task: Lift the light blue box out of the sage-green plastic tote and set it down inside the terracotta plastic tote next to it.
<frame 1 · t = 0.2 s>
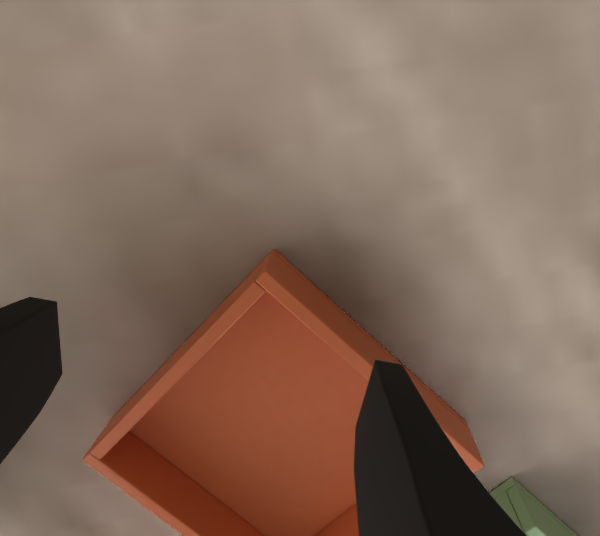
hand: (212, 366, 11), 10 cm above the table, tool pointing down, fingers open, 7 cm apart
terracotta tote: (283, 420, 24), on the table
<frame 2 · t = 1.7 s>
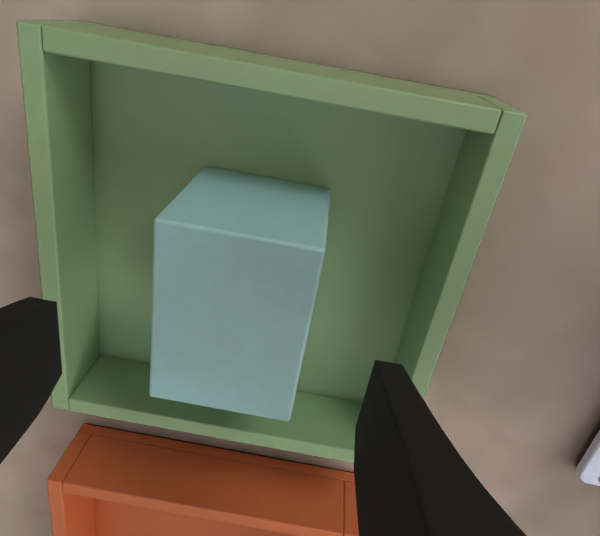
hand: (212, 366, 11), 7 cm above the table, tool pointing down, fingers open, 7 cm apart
light blue box: (257, 253, 16), resting on sage tote
sage tote: (259, 247, 17), on the table
terracotta tote: (209, 535, 24), on the table
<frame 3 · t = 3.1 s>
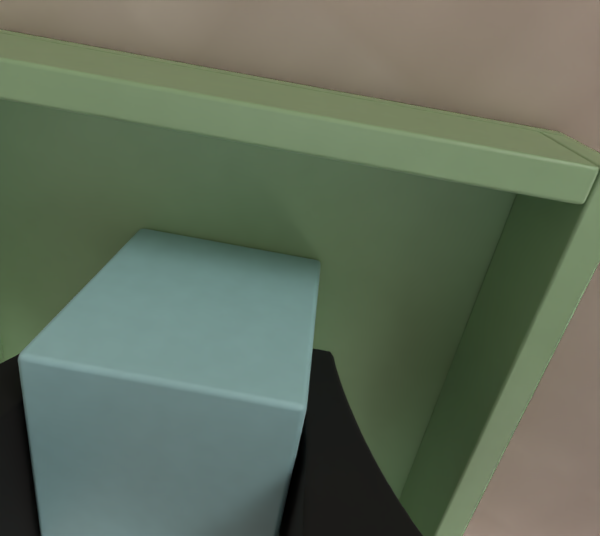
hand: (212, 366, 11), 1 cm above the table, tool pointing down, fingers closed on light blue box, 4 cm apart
light blue box: (220, 342, 12), resting on sage tote, touching gripper
sage tote: (224, 330, 12), on the table
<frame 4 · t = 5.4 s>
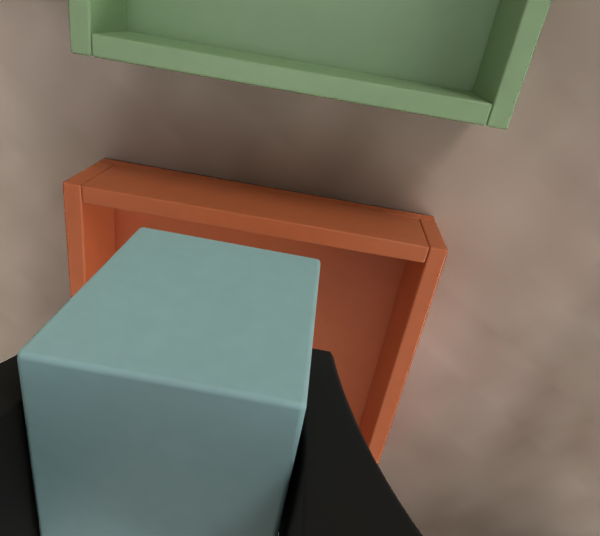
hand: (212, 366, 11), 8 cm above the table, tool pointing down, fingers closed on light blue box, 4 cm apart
light blue box: (220, 341, 12), point 8 cm above the table, touching gripper
terracotta tote: (250, 324, 21), on the table
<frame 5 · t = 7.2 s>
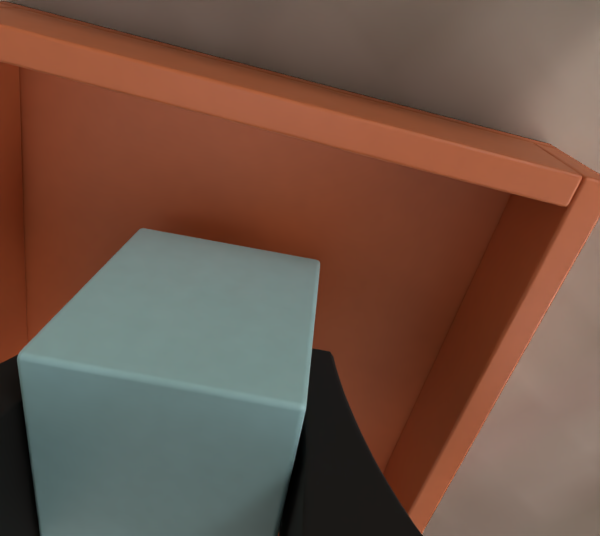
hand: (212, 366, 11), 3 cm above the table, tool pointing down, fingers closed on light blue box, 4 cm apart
light blue box: (220, 342, 12), point 2 cm above the table, touching gripper
terracotta tote: (235, 306, 13), on the table
when the fingers open (1 cm above the table, at t = 8.0 s): light blue box stays where it is, resting on terracotta tote.
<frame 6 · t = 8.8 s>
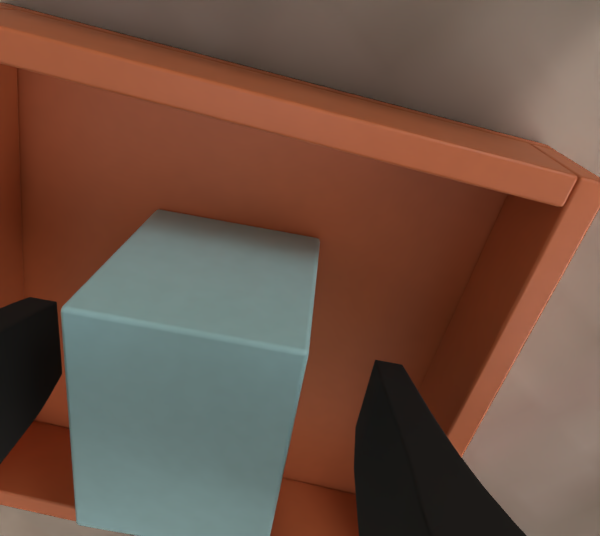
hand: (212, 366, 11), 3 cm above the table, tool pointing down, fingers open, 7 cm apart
light blue box: (228, 315, 13), resting on terracotta tote
terracotta tote: (233, 306, 13), on the table
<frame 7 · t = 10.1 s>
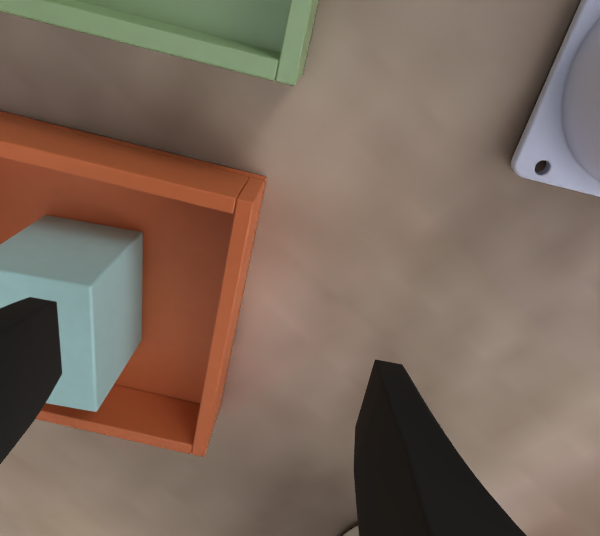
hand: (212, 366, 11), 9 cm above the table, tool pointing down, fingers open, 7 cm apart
light blue box: (96, 280, 21), resting on terracotta tote
terracotta tote: (103, 275, 21), on the table
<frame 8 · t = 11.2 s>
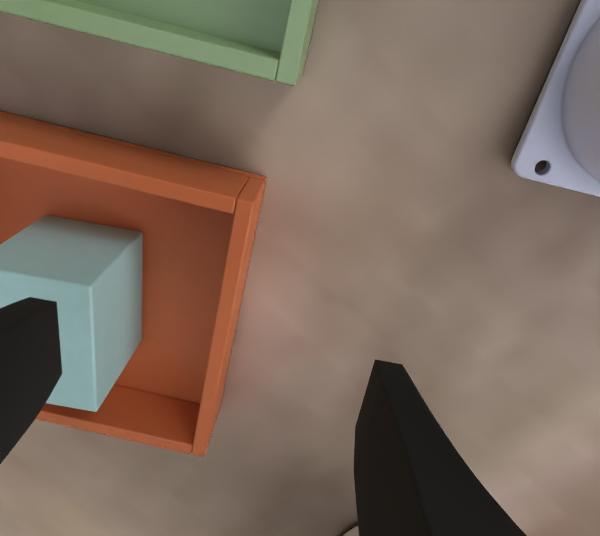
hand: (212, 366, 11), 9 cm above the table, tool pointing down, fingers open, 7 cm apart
light blue box: (96, 280, 21), resting on terracotta tote
terracotta tote: (103, 275, 21), on the table
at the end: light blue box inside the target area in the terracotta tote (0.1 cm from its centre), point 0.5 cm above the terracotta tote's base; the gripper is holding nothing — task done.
